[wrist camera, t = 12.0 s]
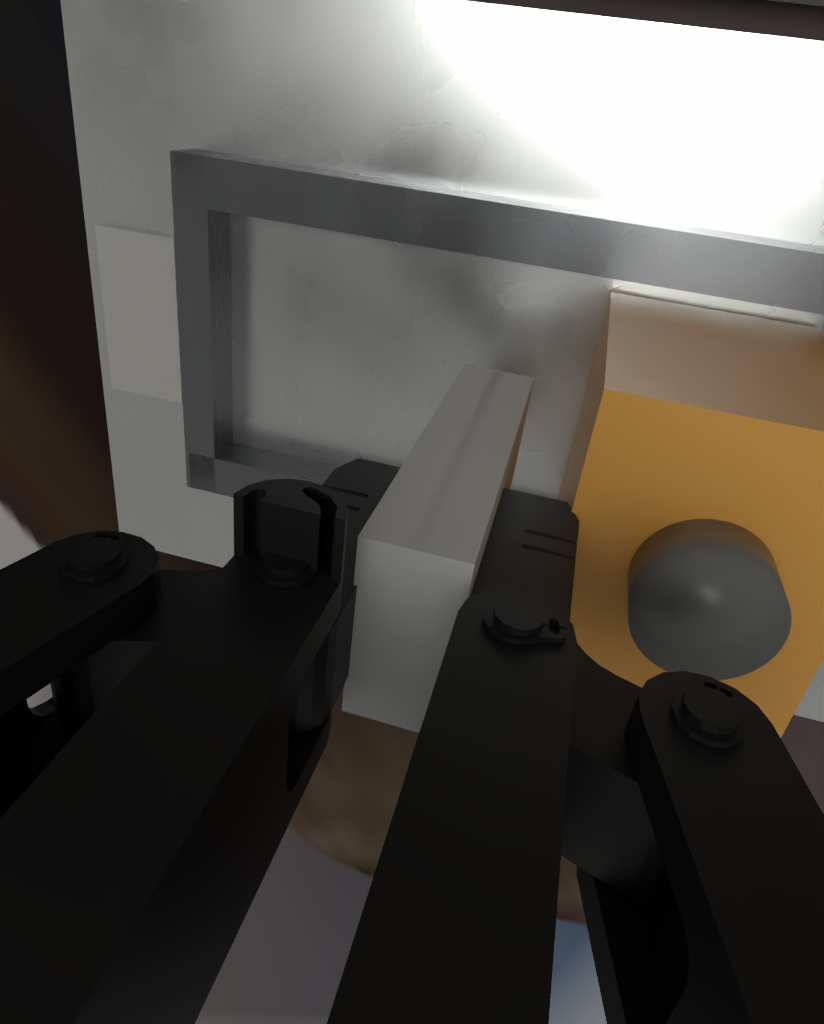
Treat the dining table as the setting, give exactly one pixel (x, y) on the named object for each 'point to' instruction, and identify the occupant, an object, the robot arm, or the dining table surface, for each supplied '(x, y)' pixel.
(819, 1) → the grey long flat bar
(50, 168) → the dining table surface
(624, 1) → the dining table surface
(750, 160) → the panel
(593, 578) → the block
